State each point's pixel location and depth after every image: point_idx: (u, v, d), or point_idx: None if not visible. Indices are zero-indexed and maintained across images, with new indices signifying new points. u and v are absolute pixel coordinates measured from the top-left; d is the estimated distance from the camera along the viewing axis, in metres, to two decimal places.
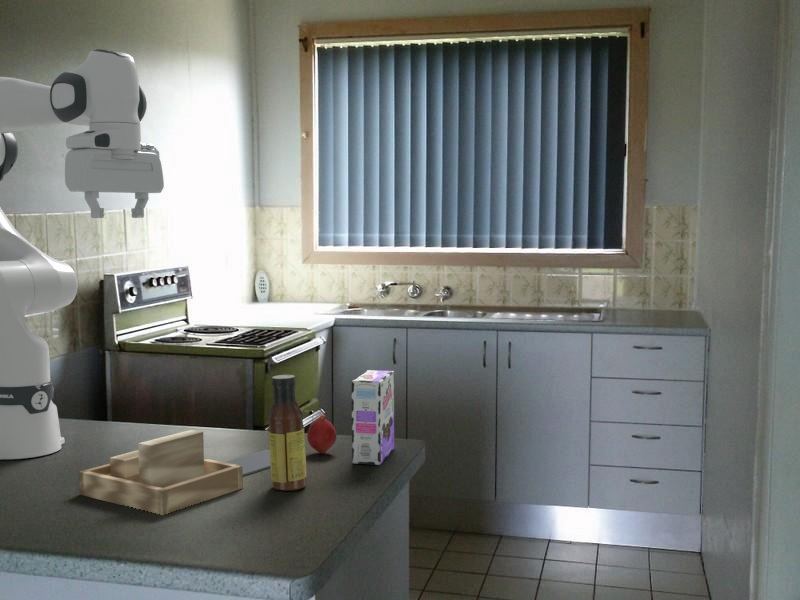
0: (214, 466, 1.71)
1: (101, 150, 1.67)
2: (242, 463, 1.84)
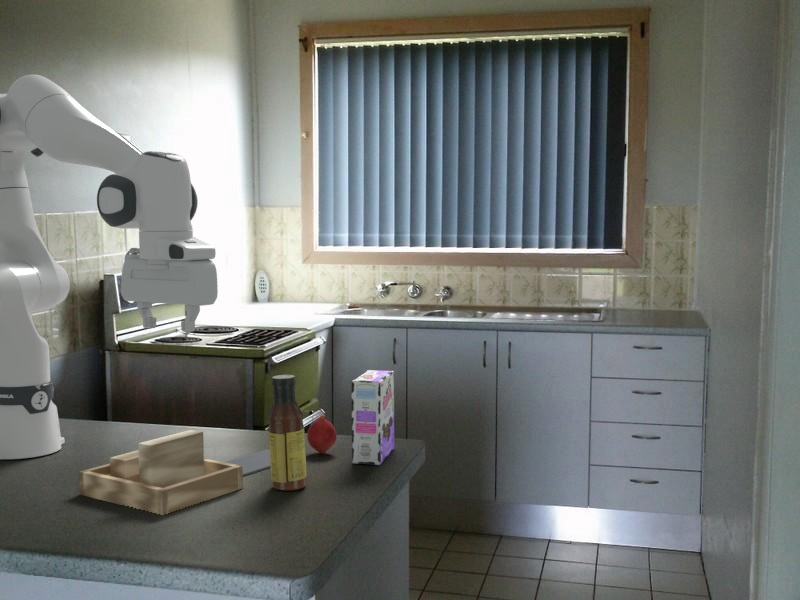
0: (214, 466, 1.71)
1: None
2: (242, 463, 1.84)
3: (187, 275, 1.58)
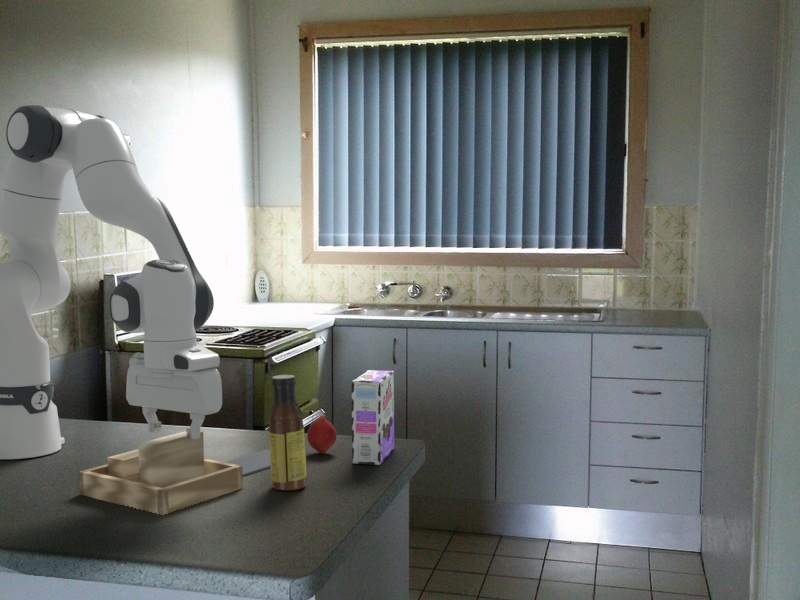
0: (214, 466, 1.71)
1: None
2: (242, 463, 1.84)
3: (192, 384, 1.59)
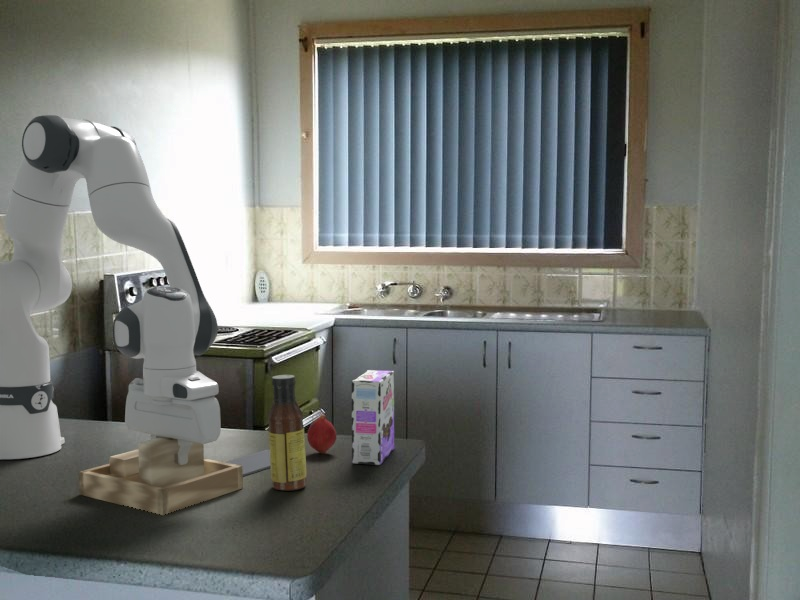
0: (214, 466, 1.71)
1: None
2: (242, 463, 1.84)
3: (190, 413, 1.60)
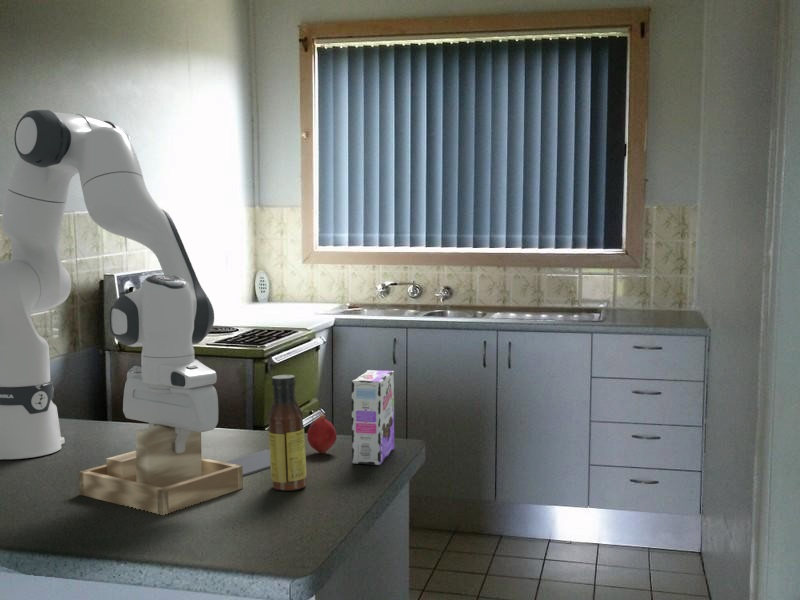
0: (214, 466, 1.71)
1: None
2: (242, 463, 1.84)
3: (188, 401, 1.59)
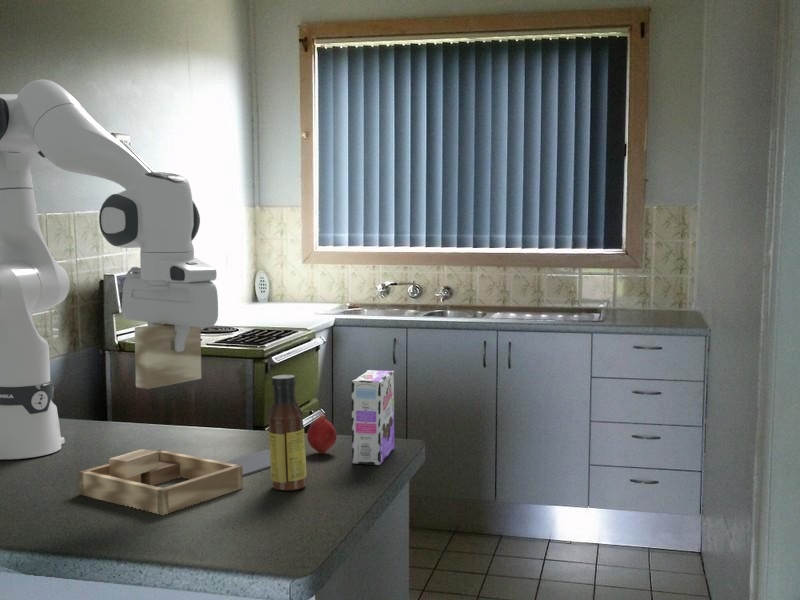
0: (214, 466, 1.71)
1: None
2: (242, 463, 1.84)
3: (188, 297, 1.58)
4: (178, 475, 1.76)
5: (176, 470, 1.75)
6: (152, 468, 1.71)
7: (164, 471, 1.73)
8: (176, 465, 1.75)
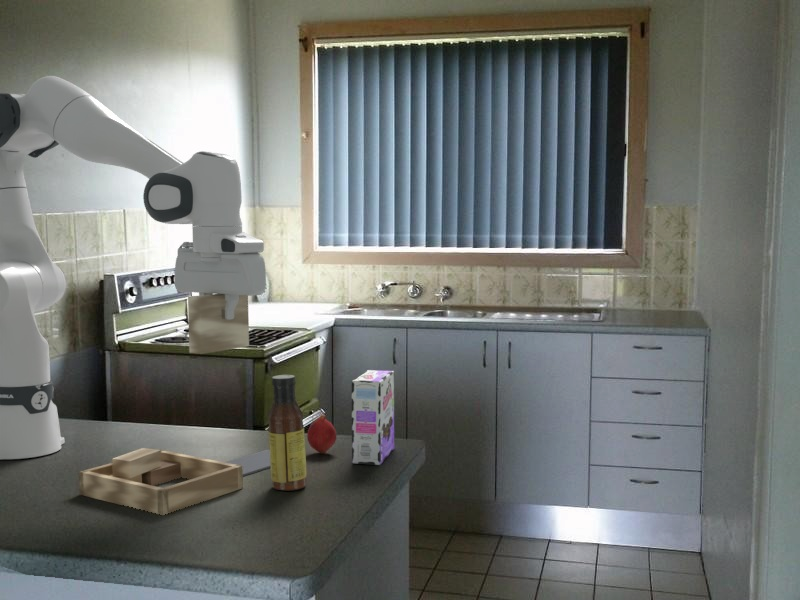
0: (214, 466, 1.71)
1: None
2: (242, 463, 1.84)
3: (238, 267, 1.69)
4: (179, 475, 1.76)
5: (177, 470, 1.75)
6: (154, 467, 1.72)
7: (165, 471, 1.73)
8: (176, 465, 1.75)
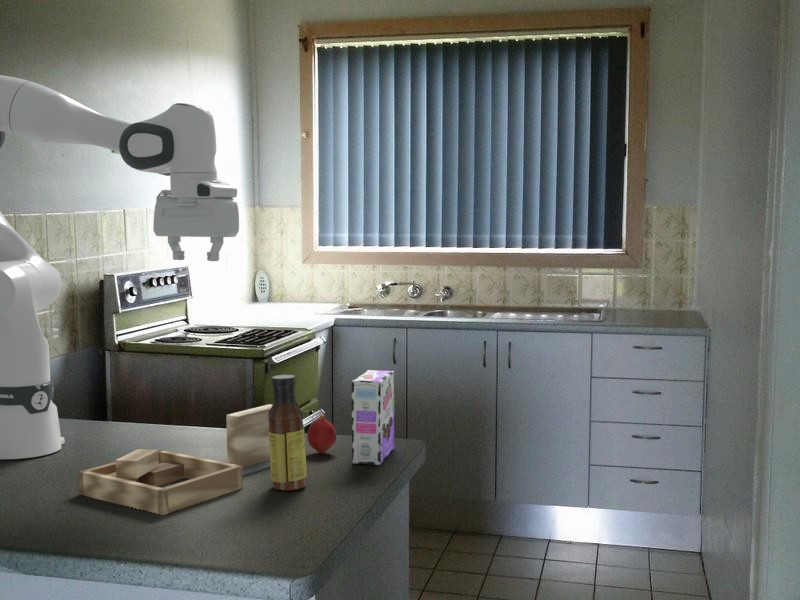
0: (214, 466, 1.71)
1: None
2: None
3: (213, 211, 1.81)
4: (182, 476, 1.75)
5: (180, 471, 1.75)
6: (154, 467, 1.72)
7: (168, 472, 1.72)
8: (180, 466, 1.75)
